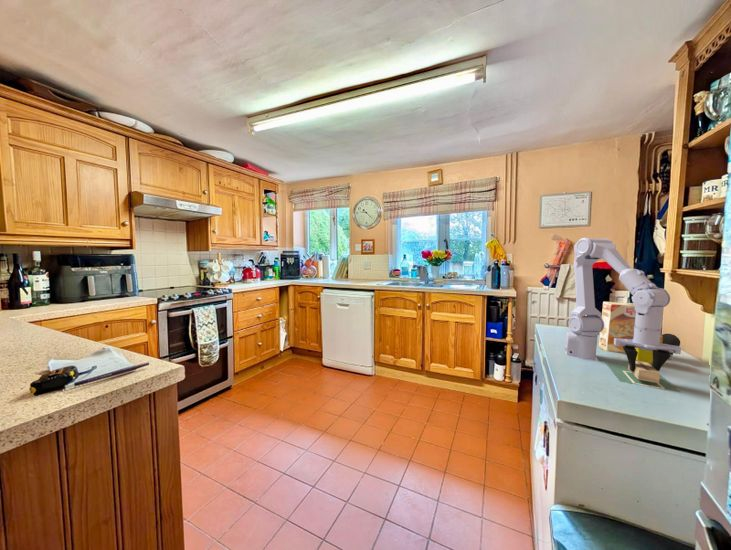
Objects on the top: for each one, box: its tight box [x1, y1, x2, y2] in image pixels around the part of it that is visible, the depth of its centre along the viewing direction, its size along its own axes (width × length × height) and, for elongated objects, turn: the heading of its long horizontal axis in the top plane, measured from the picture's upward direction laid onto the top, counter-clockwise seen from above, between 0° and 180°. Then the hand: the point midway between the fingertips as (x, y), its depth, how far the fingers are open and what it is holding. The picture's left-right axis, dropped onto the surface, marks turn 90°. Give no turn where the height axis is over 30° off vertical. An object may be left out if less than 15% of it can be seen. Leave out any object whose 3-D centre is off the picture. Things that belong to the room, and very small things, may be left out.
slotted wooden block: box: [628, 361, 661, 383], centre depth 87 cm, size 9×4×3 cm, turn 152°
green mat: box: [604, 361, 681, 393], centre depth 91 cm, size 13×18×1 cm
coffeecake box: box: [598, 301, 636, 355], centre depth 114 cm, size 15×7×20 cm, turn 73°
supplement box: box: [635, 336, 663, 366], centre depth 103 cm, size 6×6×11 cm
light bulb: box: [661, 333, 681, 361], centre depth 106 cm, size 6×6×10 cm
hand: (642, 372), depth 88 cm, fingers closed on slotted wooden block, 4 cm apart
